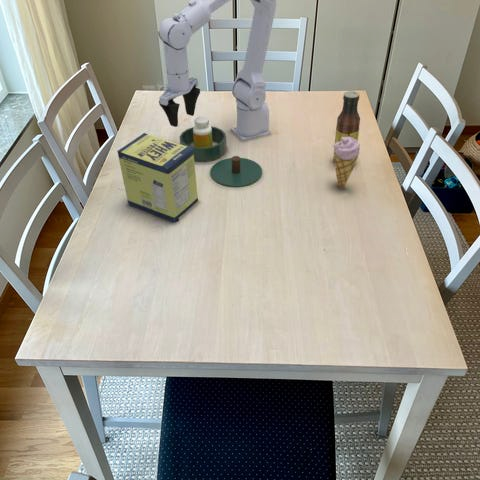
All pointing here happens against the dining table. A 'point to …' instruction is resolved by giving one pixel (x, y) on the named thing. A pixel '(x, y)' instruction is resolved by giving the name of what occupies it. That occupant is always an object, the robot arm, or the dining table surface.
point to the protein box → (159, 176)
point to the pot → (207, 152)
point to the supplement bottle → (202, 133)
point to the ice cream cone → (345, 158)
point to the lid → (236, 172)
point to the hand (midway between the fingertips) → (182, 120)
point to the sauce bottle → (348, 118)
